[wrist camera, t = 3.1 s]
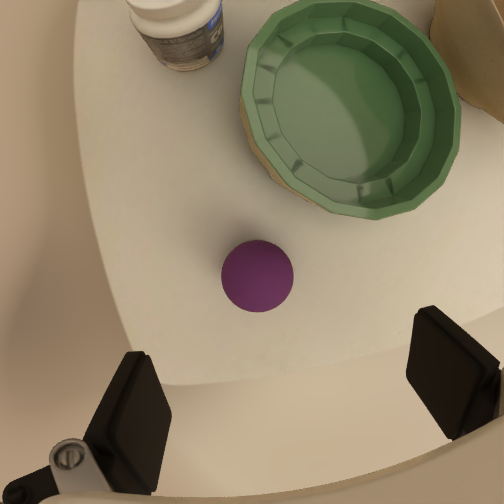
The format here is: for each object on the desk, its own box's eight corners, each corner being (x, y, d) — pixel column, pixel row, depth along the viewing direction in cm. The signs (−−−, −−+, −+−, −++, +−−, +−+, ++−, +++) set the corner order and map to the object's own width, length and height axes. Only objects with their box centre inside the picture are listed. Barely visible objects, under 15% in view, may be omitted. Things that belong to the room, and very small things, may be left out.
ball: (209, 260, 20) (203, 284, 16) (261, 220, 20) (268, 234, 16) (249, 306, 22) (253, 338, 17) (299, 269, 21) (314, 295, 17)
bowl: (199, 89, 17) (188, 64, 13) (347, 3, 16) (372, -28, 11) (320, 243, 21) (344, 267, 16) (445, 143, 19) (487, 143, 14)
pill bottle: (230, 63, 17) (228, 1, 9) (160, 80, 17) (116, 31, 9) (217, 8, 16) (211, -64, 8) (151, 24, 16) (112, -38, 8)
